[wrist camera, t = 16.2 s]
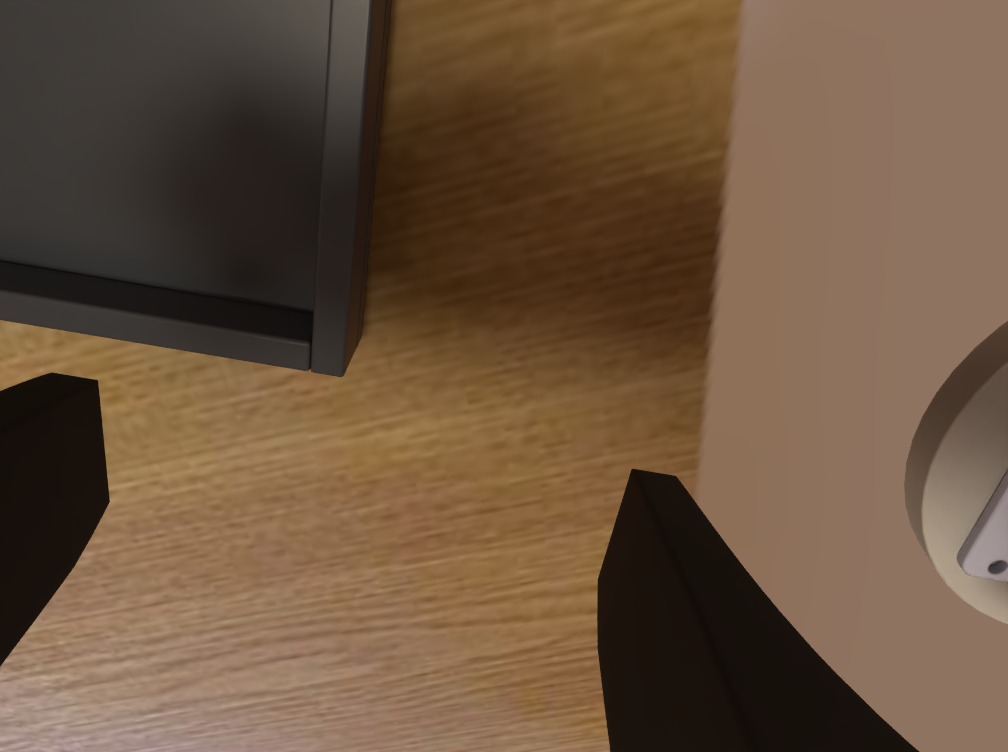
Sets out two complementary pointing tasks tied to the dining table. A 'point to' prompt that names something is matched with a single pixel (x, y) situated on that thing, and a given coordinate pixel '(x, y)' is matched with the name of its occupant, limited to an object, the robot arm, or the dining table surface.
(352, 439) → the dining table surface
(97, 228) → the tray
